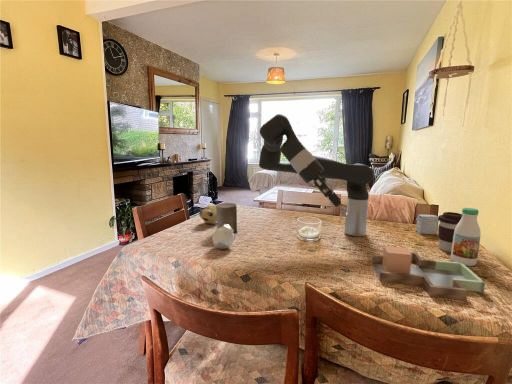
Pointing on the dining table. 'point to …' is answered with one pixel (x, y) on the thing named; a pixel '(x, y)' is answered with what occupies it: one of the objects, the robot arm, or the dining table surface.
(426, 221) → the medicine box
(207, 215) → the toy pig
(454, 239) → the milk bottle
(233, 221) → the pillar candle
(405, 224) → the dining table surface
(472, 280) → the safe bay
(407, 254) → the terracotta block
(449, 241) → the coffee cup
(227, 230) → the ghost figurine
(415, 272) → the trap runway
